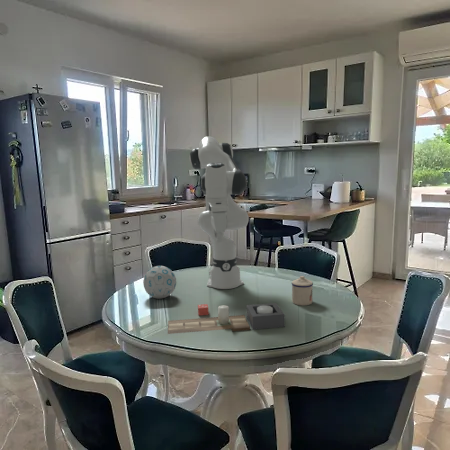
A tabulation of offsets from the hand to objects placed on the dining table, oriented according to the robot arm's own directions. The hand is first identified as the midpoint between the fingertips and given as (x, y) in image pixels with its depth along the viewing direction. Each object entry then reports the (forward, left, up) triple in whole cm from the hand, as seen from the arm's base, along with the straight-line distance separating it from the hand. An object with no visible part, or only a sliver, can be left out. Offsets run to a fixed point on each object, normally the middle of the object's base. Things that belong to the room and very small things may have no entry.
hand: (218, 239), depth 151 cm
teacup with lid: (-8, +37, -31) cm, 49 cm away
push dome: (+11, +16, -29) cm, 34 cm away
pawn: (+11, 0, -30) cm, 32 cm away
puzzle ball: (-26, -25, -31) cm, 48 cm away
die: (0, -7, -31) cm, 32 cm away
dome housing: (+11, +16, -31) cm, 37 cm away
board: (+11, -6, -31) cm, 33 cm away
